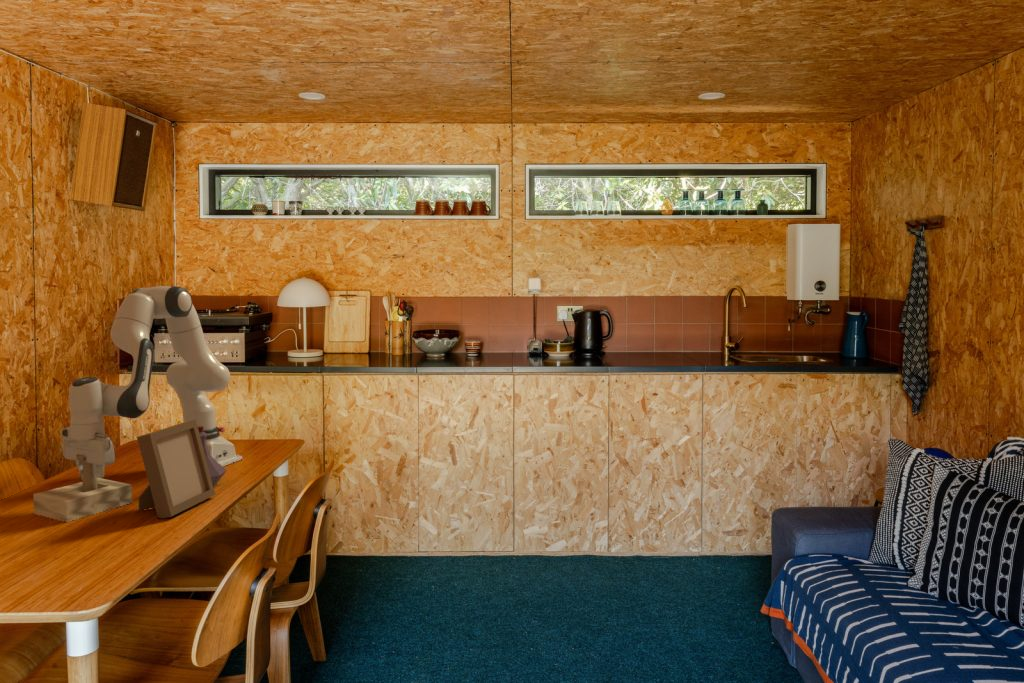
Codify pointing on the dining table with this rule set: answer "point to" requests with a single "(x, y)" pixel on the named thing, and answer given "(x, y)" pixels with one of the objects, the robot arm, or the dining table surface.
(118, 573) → the dining table surface
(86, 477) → the handle
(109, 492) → the socket block
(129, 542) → the dining table surface
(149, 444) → the photo frame
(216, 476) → the flask
